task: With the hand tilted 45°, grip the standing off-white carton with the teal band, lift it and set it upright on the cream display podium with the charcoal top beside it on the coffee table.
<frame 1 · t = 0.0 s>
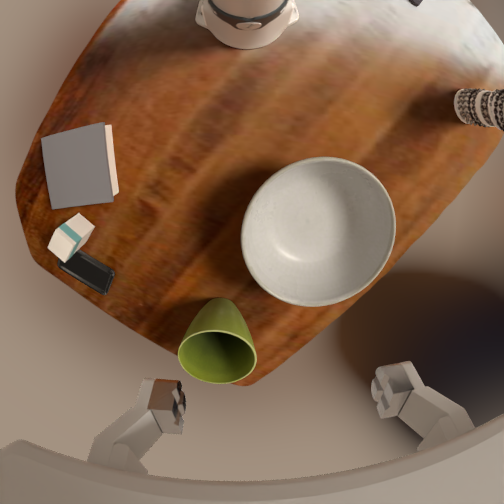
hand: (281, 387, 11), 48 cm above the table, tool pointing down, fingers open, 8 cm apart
decorative bowl: (308, 215, 59), on the table
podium: (85, 163, 52), on the table
flower pot: (221, 309, 68), on the table
phone: (86, 266, 63), on the table
carton: (82, 227, 58), on the table
decorative candle: (465, 106, 47), on the table
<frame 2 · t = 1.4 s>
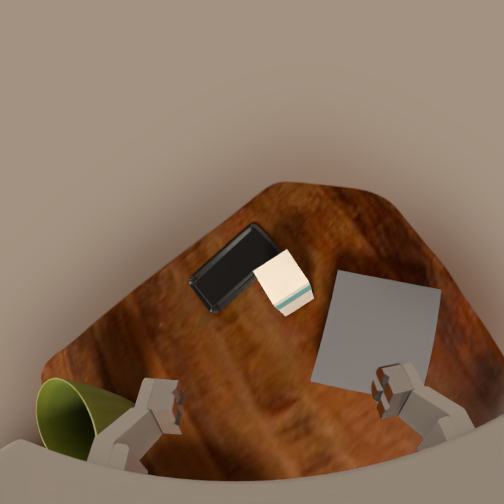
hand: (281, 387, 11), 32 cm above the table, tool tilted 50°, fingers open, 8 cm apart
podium: (375, 338, 39), on the table
flower pot: (127, 418, 44), on the table
phone: (236, 269, 49), on the table
carton: (291, 293, 45), on the table
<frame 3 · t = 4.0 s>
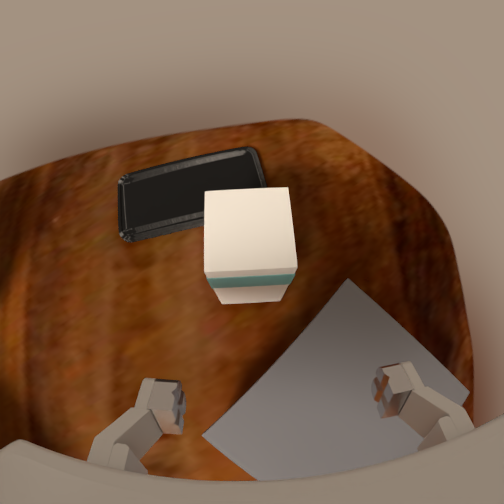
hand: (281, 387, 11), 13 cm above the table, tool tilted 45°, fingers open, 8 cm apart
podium: (338, 412, 22), on the table
phone: (190, 196, 29), on the table
carton: (249, 274, 26), on the table
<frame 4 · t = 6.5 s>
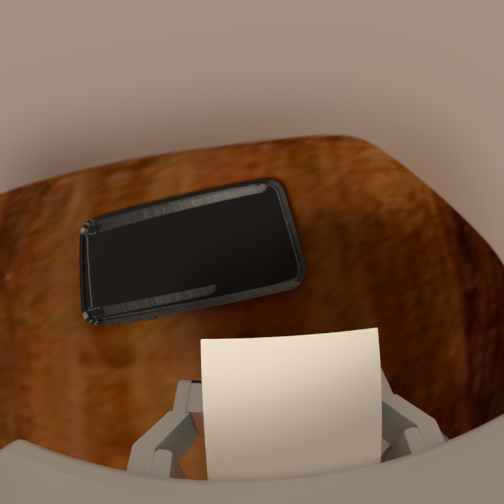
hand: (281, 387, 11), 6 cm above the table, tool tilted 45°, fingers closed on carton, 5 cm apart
phone: (183, 256, 20), on the table
carton: (273, 386, 16), on the table, touching gripper
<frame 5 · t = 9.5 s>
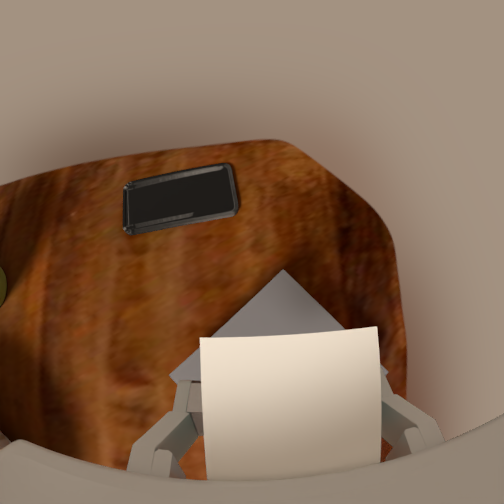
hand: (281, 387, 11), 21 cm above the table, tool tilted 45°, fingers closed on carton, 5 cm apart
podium: (278, 375, 30), on the table
phone: (178, 201, 38), on the table
carton: (272, 386, 16), point 15 cm above the table, touching gripper
when the fingers open (12 cm above the table, at t = 12.3 s): carton drops 1 cm, resting on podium.
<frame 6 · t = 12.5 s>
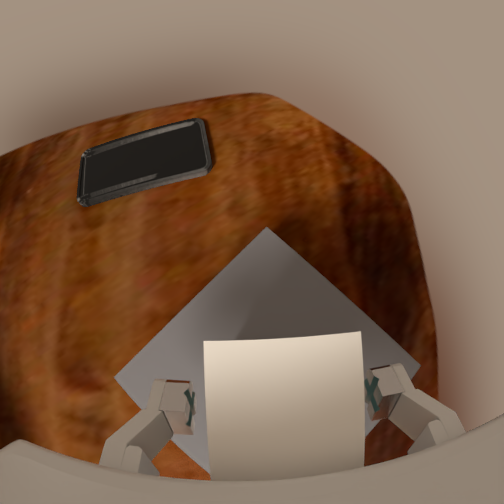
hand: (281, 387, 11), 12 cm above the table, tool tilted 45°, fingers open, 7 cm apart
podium: (268, 378, 22), on the table
phone: (142, 164, 30), on the table
carton: (271, 384, 17), point 5 cm above the table, touching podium
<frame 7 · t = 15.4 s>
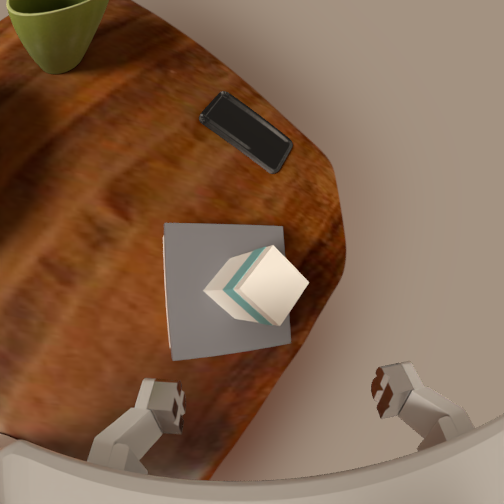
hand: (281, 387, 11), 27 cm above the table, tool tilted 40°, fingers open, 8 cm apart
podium: (217, 289, 39), on the table
flower pot: (61, 59, 32), on the table
phone: (245, 133, 45), on the table
carton: (232, 288, 34), point 5 cm above the table, touching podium
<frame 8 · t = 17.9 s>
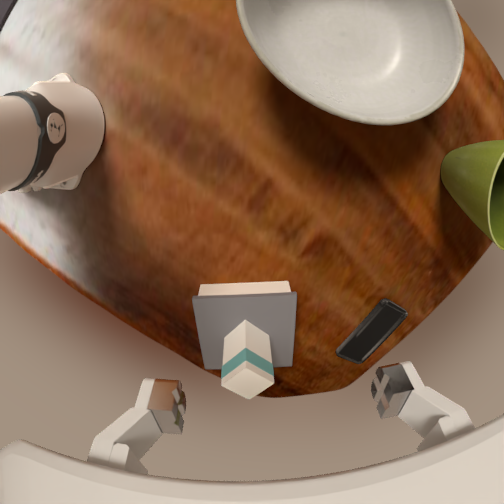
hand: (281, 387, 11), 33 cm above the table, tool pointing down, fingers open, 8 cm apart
decorative bowl: (335, 34, 31), on the table
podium: (246, 317, 50), on the table
flower pot: (455, 169, 40), on the table
phone: (370, 330, 54), on the table
carton: (246, 336, 46), point 5 cm above the table, touching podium
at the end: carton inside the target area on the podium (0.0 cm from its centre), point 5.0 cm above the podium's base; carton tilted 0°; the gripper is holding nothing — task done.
